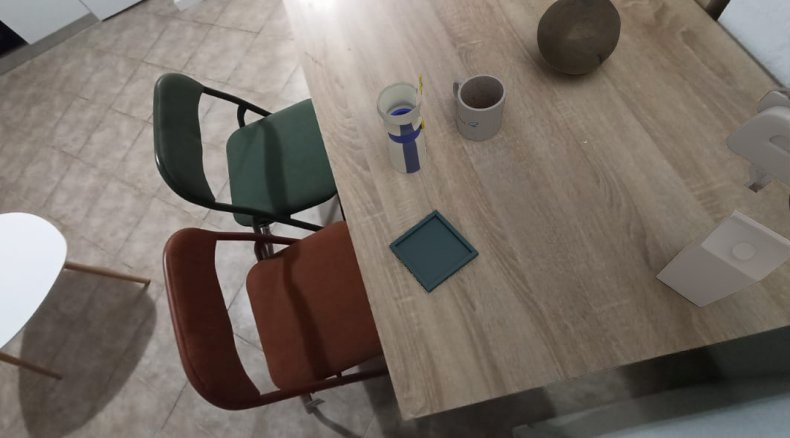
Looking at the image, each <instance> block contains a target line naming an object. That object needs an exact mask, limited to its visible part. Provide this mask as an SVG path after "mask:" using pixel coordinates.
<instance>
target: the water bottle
mask: <svg viewBox="0 0 790 438" xmlns="http://www.w3.org/2000/svg"><path fill="white" fill-rule="evenodd" d="M422 74H423V73H420V75H419V76H418V83H419V87H417V86H416V85H414V84H413V83H411V82H408V81H397V82H395V83H392V84H390V85H387V86H385V87H384V88H383V89H382V90H381V91H380V92H379V93H378V95H377V100H376V110H377V113H378V115H379V117H380V118H381V119H382V120H383V127H384V129H385V130H386V142H387V147H388V153H389V159H390V160H389V161H390V164H391V166H392V168H393V169H394V170H395V171H397V172H399V173H402V174H413V173H416V172H419V171H420V170H421V169H422V168H423V167H424V166H425V165H426V163H427V160H428V153H427V147H426V141H425V133H424V129H425V123H424V122H425V121H424V118H423V115H422V113H421V106H422V102H423V100H420V101H419V102H418V103H417V94H418V89H419V91H420V95H423V88H424V87H423V86H424V83H423V77H422V76H423V75H422Z"/></svg>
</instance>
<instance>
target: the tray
mask: <svg viewBox="0 0 790 438" xmlns="http://www.w3.org/2000/svg"><path fill="white" fill-rule="evenodd" d="M388 247H389V249H390V250H391V251H392V252H393V254H394V255H395V256H396V257H397V258H398V259H399V261H400V262H401V263H402V264H403V265H404V266H405V268H407V270H408V271H409V272H410V273H411V274H412V276H413V277H414V278H415V279H416V280H417V282H419V284H420V285H421V286H422V287H423V289H424V290H425V291H426V292H427V293H428V294H429V293H431V292H432V291H434V290H435V289H436V288H438V287H439V286H440V285H442V284H443V283H445V282H446V281H447V280H448V279H450V278H451V277H452V276H453V275H455V274H456V273H457V272H459V271H460V270H461V269H463V268H464V267H465V266H467V265H468V264H469V263H470V262H472V261H473V260H474V259H476V258H477V257H478V256H479V253H480V252H479V251H478V250H477V249H476V248H475V247H474V246H473V245H472V244H471V243H470V242H469V241H468V240H467V239H466V238H465V237H464V236H463V234H461V233H460V232H459V231H458V230H457V229H456V227H454V226H453V225H452V224H451V222H449V221H448V220H447V218H445V216H443V214H442V213H440V212H439V210H438V209H434V210H433V211H432V212H431V213H429V214H428V215H426V216H425V217H424V218H423V219H421V220H419V222H418V223H416V224H415V225H414V226H411V228H409V229H408V230H407V231H405V232H404V233H403V234H401V235H400V236H399V237H398V238H396V239H395V240H394V241H392V242H391V243H389V245H388Z"/></svg>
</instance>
